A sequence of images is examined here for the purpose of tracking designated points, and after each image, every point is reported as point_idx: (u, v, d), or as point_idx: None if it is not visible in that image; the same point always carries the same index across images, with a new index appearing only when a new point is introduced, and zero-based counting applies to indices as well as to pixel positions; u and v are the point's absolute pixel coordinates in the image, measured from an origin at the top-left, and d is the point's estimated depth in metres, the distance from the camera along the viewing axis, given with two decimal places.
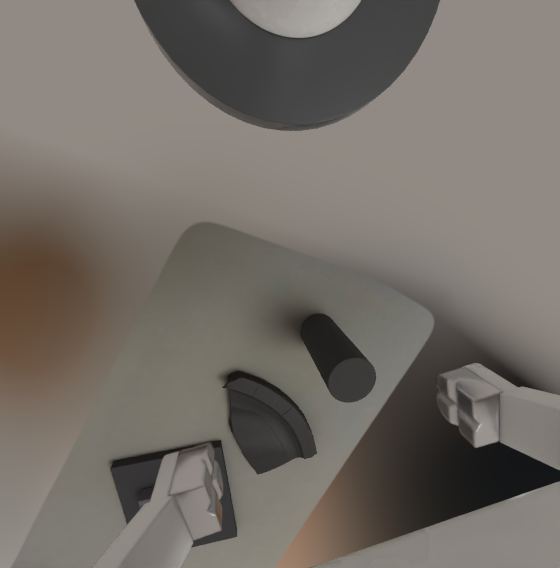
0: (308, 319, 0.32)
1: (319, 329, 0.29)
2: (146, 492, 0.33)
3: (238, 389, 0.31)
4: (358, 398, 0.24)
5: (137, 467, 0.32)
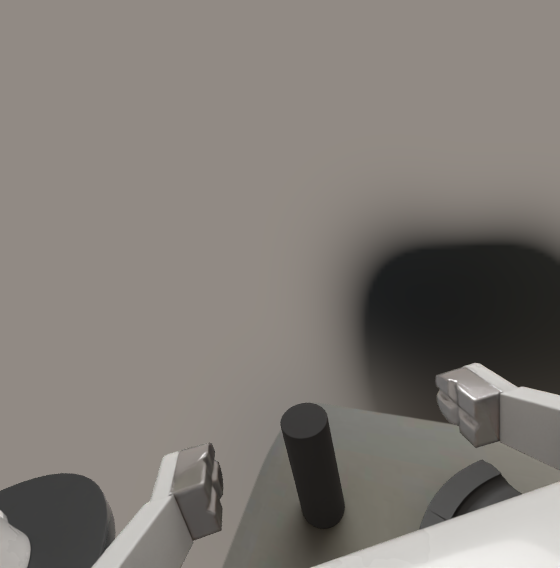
0: (307, 518, 0.26)
1: (298, 490, 0.25)
2: None
3: None
4: (321, 409, 0.25)
5: None
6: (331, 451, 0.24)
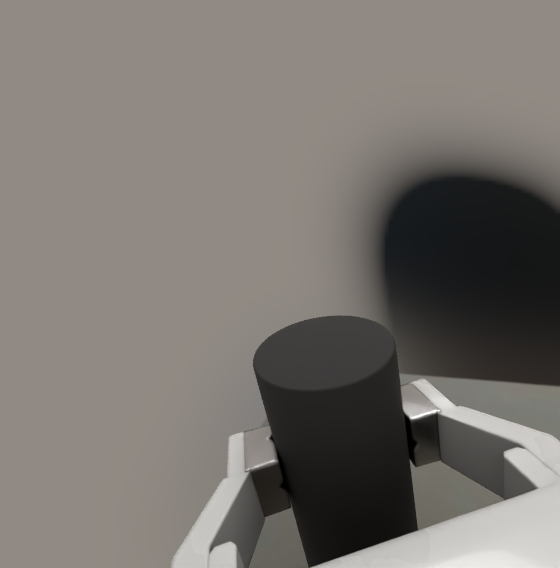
0: None
1: (307, 549, 0.09)
2: None
3: None
4: (370, 323, 0.09)
5: None
6: (405, 439, 0.08)
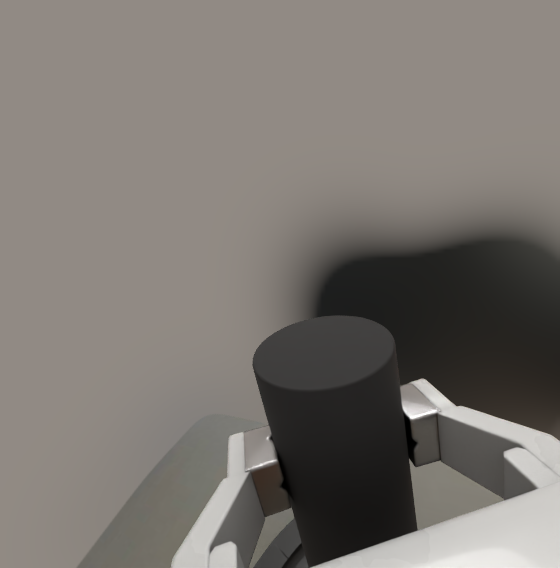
0: None
1: (306, 549, 0.09)
2: None
3: None
4: (370, 323, 0.09)
5: None
6: (404, 439, 0.08)
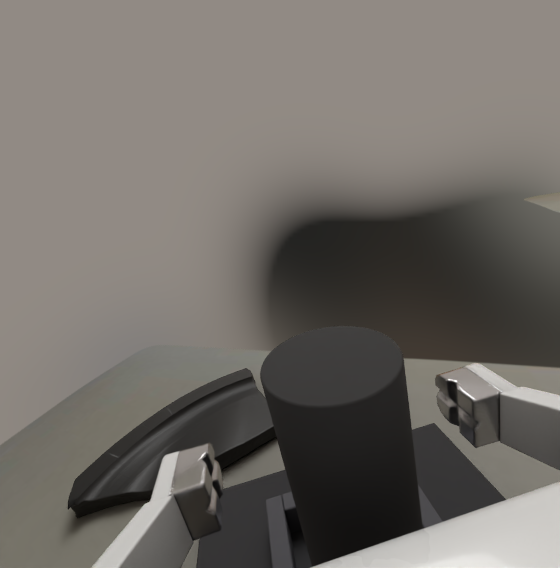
0: None
1: (314, 560, 0.09)
2: None
3: (92, 480, 0.18)
4: (377, 334, 0.09)
5: None
6: (412, 451, 0.08)
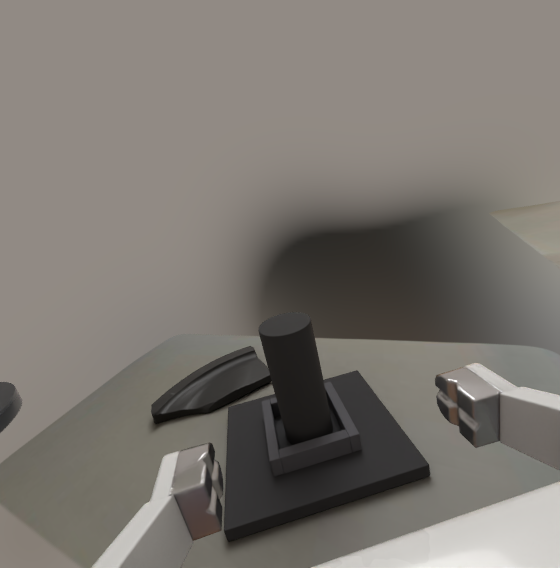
0: (290, 439, 0.23)
1: (280, 406, 0.23)
2: None
3: (162, 404, 0.32)
4: (305, 315, 0.22)
5: (232, 488, 0.21)
6: (315, 358, 0.22)
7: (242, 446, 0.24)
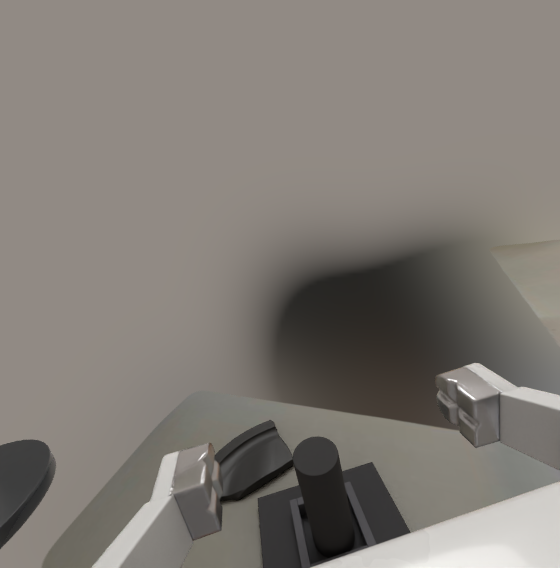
0: (319, 548, 0.27)
1: (310, 522, 0.26)
2: None
3: None
4: (332, 444, 0.26)
5: None
6: (342, 485, 0.25)
7: (275, 549, 0.28)
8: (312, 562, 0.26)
